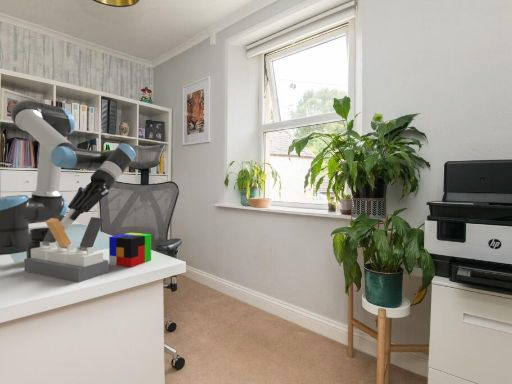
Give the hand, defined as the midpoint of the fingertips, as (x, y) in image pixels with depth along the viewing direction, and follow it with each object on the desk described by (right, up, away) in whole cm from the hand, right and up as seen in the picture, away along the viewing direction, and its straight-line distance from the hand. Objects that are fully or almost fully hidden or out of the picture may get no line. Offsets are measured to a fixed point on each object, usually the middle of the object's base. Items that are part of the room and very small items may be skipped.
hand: (62, 227), depth 91 cm
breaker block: (0, -15, +2) cm, 15 cm away
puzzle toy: (+16, -15, +14) cm, 26 cm away
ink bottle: (-17, -15, +13) cm, 26 cm away
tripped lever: (0, -6, +1) cm, 7 cm away
